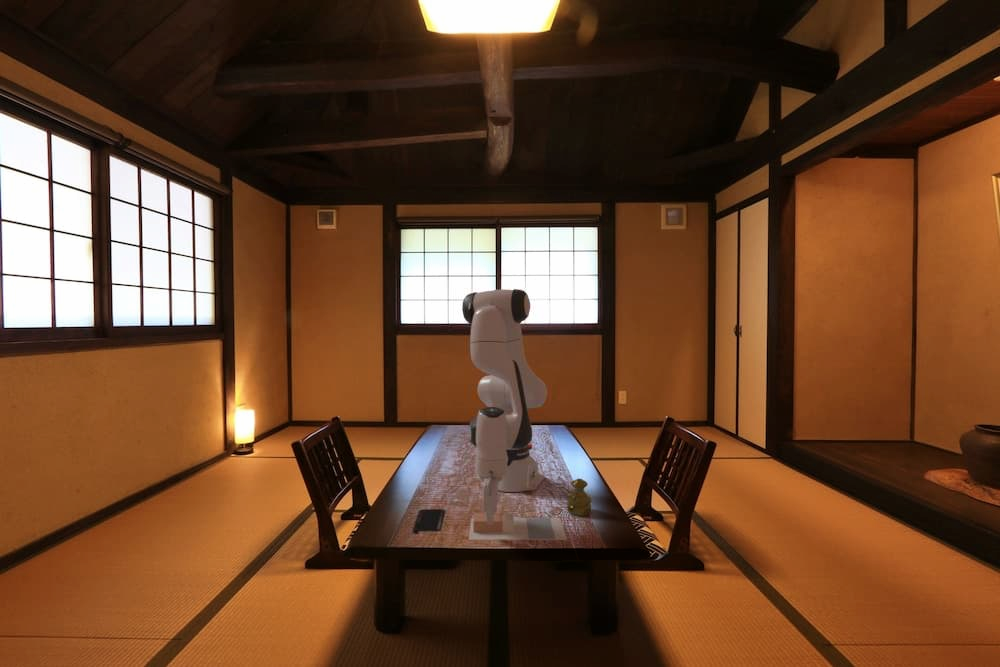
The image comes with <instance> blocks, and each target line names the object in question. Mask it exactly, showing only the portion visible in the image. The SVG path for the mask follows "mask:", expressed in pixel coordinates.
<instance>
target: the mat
mask: <svg viewBox="0 0 1000 667" xmlns="http://www.w3.org/2000/svg"><path fill="white" fill-rule="evenodd" d="M513 519H514V532H473V521H474V517H471V519H470V526H469V534H468V541H469V540H470V541H531V540H532V541H567V539H568V538H567V535H566V533H565V529H564V526H563V523H562V521H561V517H513Z"/></svg>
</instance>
